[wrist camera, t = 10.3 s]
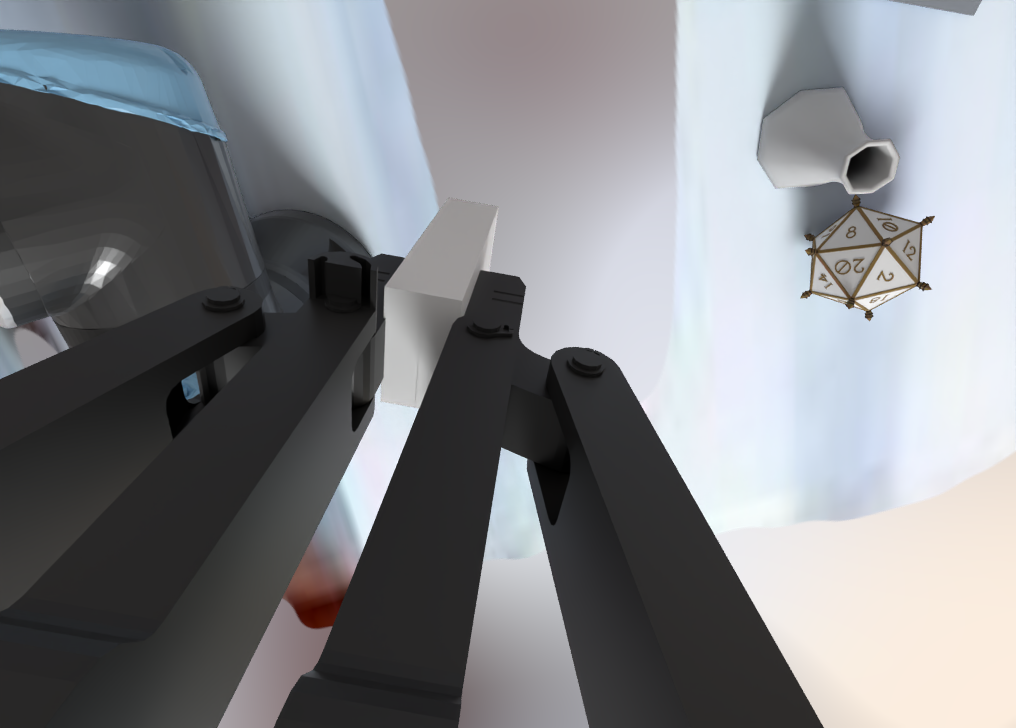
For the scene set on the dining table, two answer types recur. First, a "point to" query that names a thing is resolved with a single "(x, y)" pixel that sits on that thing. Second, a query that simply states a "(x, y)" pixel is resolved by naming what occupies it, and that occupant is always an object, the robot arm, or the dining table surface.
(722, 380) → the dining table surface
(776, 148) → the flask
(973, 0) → the mat
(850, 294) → the game die
